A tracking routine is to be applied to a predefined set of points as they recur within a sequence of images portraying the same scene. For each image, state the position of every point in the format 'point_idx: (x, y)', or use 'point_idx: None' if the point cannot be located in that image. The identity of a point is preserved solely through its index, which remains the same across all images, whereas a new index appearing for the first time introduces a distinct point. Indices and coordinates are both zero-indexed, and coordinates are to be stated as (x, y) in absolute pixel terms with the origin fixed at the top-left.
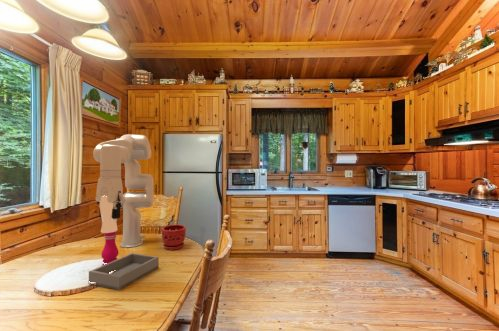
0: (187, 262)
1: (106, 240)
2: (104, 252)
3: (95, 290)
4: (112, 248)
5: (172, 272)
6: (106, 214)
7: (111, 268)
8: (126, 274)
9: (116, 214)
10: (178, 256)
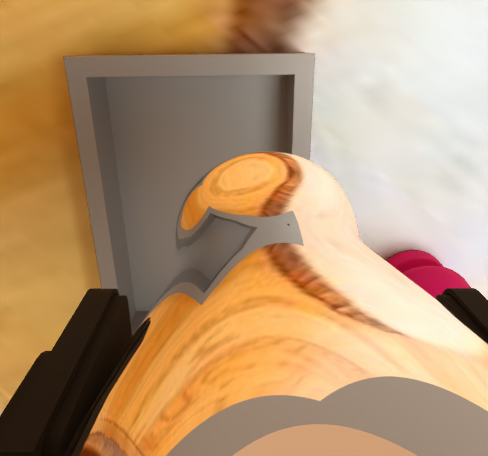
0: None
1: None
2: (442, 284)
3: (202, 9)
4: None
5: (23, 299)
6: (201, 276)
7: None
8: (75, 115)
9: (28, 375)
10: None
